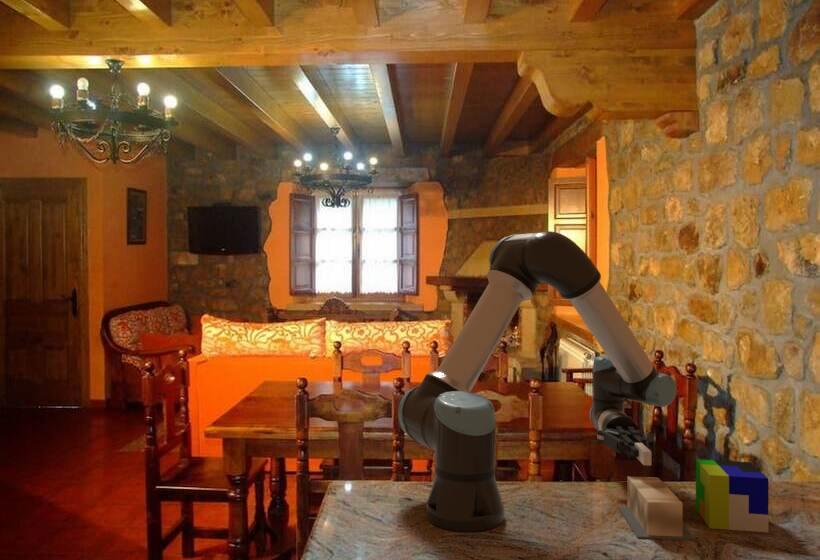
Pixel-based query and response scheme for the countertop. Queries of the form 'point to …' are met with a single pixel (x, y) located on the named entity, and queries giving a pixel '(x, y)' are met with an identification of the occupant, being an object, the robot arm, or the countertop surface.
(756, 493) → the puzzle toy
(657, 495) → the beech block
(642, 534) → the rubber mat
